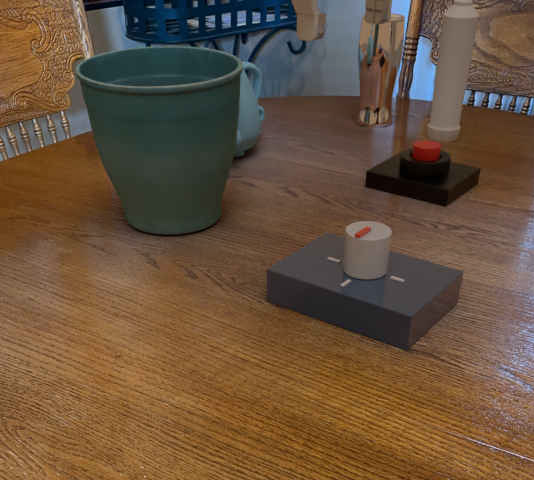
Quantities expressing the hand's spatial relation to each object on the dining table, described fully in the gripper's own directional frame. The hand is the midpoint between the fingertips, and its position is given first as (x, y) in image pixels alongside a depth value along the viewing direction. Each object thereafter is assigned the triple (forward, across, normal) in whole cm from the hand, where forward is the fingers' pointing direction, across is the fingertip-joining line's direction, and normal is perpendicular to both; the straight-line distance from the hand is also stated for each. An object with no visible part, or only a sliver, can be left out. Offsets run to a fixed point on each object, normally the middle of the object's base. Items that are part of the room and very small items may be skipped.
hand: (345, 30), depth 59 cm
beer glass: (+23, +51, +29) cm, 63 cm away
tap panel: (+23, -2, -5) cm, 24 cm away
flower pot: (+23, +1, +25) cm, 34 cm away
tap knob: (+19, -2, -5) cm, 20 cm away
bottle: (+23, +51, +16) cm, 58 cm away
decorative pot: (+23, +22, +40) cm, 51 cm away
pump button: (+19, +30, +8) cm, 37 cm away
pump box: (+23, +30, +8) cm, 39 cm away
